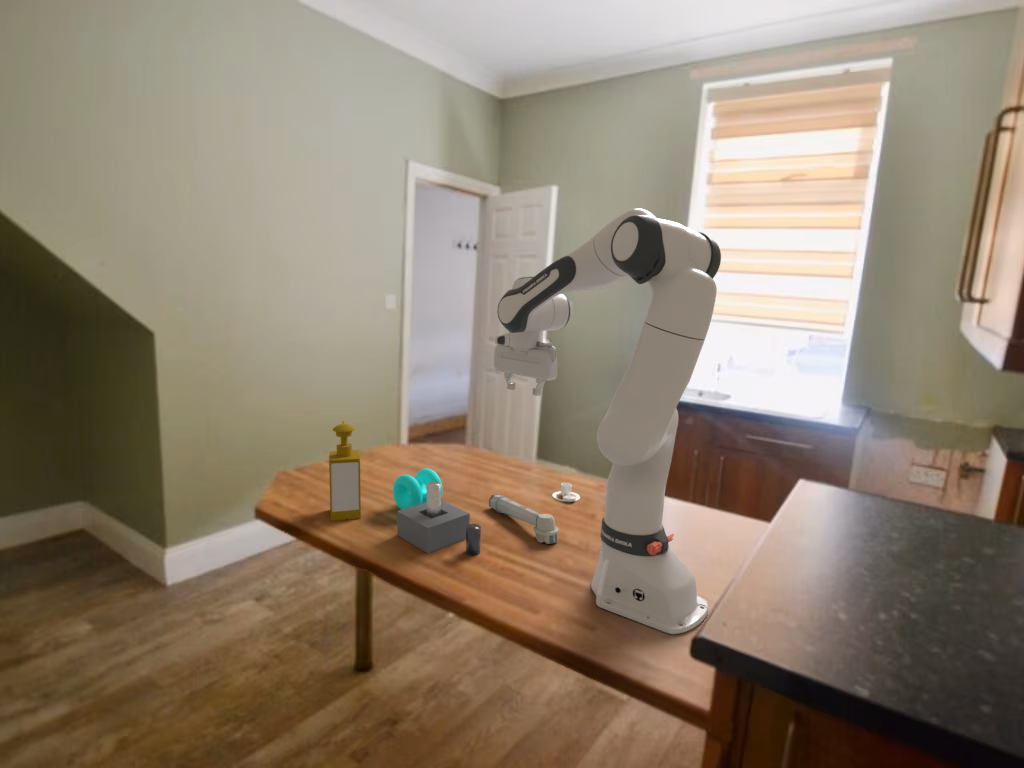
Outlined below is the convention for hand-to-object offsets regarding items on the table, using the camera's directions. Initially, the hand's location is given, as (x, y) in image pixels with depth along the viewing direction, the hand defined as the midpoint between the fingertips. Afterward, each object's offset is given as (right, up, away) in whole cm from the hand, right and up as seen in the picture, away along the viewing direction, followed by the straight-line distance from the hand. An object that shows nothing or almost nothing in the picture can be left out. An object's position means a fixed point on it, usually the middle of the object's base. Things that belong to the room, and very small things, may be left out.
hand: (523, 392), depth 147 cm
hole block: (-22, -34, -16) cm, 43 cm away
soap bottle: (-46, -31, -3) cm, 56 cm away
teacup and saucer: (+10, -31, +10) cm, 34 cm away
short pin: (-12, -35, -23) cm, 44 cm away
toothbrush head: (-1, -34, -8) cm, 34 cm away
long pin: (-22, -34, -16) cm, 43 cm away
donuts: (-28, -31, 0) cm, 42 cm away
